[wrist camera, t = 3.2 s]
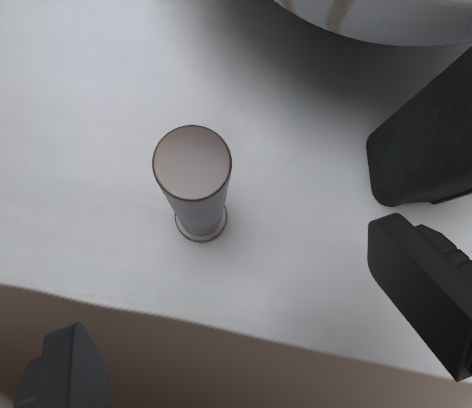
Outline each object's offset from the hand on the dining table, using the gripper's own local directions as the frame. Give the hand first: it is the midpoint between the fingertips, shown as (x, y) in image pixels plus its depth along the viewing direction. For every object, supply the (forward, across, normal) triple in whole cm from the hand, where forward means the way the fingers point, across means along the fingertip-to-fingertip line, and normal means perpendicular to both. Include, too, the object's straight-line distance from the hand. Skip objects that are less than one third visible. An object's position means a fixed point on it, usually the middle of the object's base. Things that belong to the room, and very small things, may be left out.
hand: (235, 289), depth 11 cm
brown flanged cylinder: (+12, 0, +6) cm, 13 cm away
